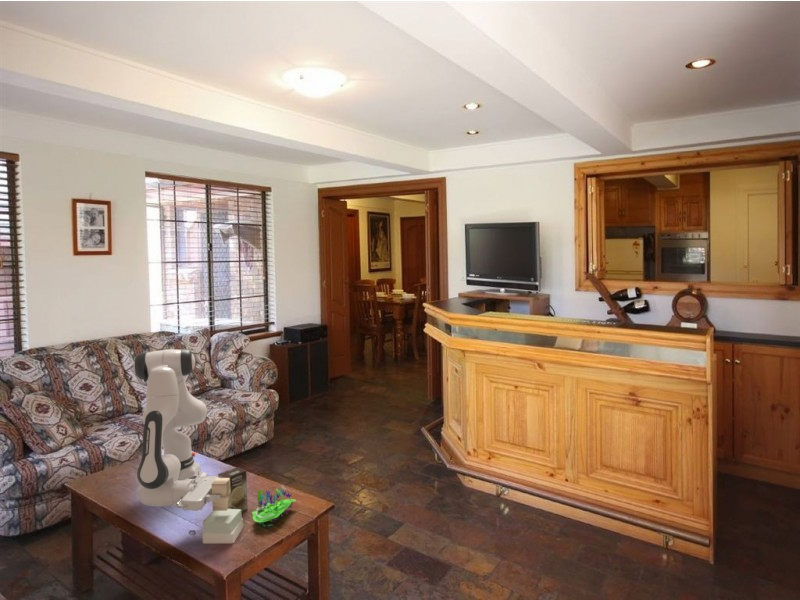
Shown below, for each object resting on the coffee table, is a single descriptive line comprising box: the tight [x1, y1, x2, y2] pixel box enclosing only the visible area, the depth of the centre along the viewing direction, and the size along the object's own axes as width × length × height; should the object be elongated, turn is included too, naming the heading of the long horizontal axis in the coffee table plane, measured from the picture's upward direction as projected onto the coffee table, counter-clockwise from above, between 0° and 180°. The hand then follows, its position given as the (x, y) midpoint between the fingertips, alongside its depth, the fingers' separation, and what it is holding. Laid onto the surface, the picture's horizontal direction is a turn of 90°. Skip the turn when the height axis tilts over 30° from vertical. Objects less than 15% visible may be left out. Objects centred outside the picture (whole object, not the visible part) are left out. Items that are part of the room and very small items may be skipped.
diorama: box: [251, 485, 297, 527], centre depth 208 cm, size 14×20×12 cm
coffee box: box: [217, 466, 249, 512], centre depth 213 cm, size 9×6×16 cm
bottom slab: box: [201, 517, 244, 544], centre depth 197 cm, size 11×11×4 cm
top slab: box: [202, 509, 243, 534], centre depth 196 cm, size 10×10×4 cm
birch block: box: [211, 478, 231, 512], centre depth 195 cm, size 5×5×10 cm
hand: (223, 492), depth 195 cm, fingers closed on birch block, 5 cm apart
